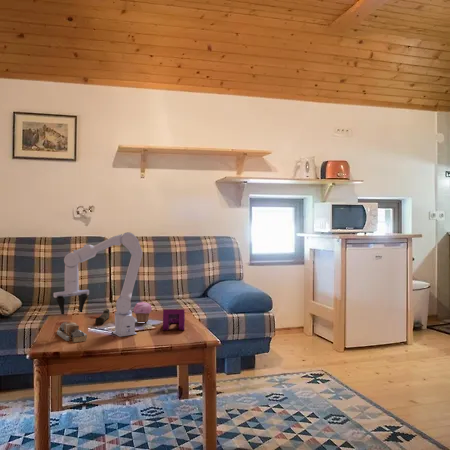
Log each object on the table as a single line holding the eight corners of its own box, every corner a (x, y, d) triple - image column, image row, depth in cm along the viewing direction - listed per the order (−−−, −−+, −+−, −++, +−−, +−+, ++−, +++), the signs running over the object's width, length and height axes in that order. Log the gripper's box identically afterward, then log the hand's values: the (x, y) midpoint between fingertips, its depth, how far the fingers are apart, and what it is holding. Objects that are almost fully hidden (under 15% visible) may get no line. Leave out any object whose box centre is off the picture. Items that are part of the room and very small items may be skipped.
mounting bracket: (165, 337, 217) (162, 328, 201) (165, 319, 220) (163, 309, 204) (184, 336, 217) (184, 328, 201) (185, 319, 221) (184, 309, 205)
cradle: (86, 338, 191) (86, 334, 191) (66, 341, 186) (66, 337, 186) (76, 331, 202) (76, 328, 202) (57, 334, 197) (57, 330, 197)
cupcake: (133, 321, 224) (133, 300, 224) (151, 320, 226) (151, 300, 226) (133, 325, 215) (133, 303, 215) (152, 324, 217) (152, 303, 217)
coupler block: (73, 333, 199) (73, 321, 199) (78, 337, 192) (78, 325, 192) (64, 334, 196) (64, 323, 196) (68, 338, 190) (69, 326, 190)
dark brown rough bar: (103, 325, 215) (103, 315, 215) (95, 325, 215) (95, 315, 215) (113, 317, 234) (113, 308, 234) (105, 317, 234) (106, 308, 234)
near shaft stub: (86, 340, 186) (86, 331, 186) (73, 342, 183) (73, 332, 183) (81, 337, 191) (81, 328, 191) (69, 339, 188) (69, 329, 188)
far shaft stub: (73, 332, 200) (73, 323, 200) (62, 334, 197) (62, 325, 197) (69, 330, 205) (69, 321, 205) (58, 331, 202) (58, 322, 202)
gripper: (56, 283, 186) (56, 316, 186) (91, 280, 195) (91, 312, 195) (52, 281, 192) (52, 313, 192) (86, 279, 201) (86, 309, 201)
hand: (71, 312), depth 194 cm, fingers open, 7 cm apart
